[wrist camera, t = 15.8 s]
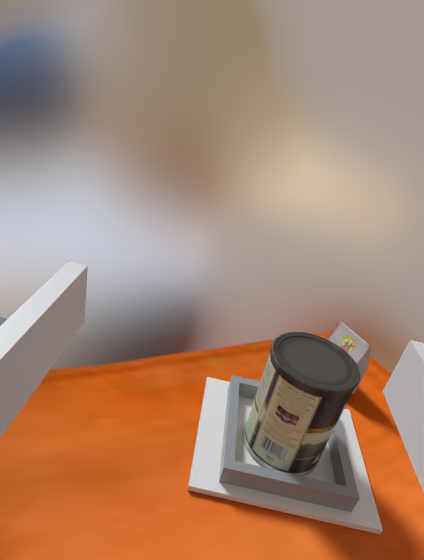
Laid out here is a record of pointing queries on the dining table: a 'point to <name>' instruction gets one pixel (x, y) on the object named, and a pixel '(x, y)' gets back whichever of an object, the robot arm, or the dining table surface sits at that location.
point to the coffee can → (299, 402)
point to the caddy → (271, 483)
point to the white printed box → (351, 347)
